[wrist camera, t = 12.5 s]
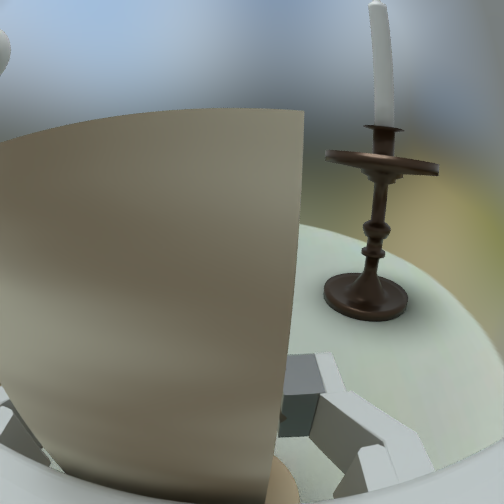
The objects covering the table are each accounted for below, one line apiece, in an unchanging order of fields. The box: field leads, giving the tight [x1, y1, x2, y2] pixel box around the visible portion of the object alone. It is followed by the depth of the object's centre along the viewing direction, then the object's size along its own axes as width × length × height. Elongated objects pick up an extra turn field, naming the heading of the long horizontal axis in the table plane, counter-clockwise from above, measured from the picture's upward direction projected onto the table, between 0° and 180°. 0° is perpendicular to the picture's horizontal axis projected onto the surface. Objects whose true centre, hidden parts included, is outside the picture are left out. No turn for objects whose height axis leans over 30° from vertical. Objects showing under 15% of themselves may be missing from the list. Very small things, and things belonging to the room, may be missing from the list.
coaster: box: [265, 455, 300, 504], centre depth 10 cm, size 8×8×1 cm
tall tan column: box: [0, 108, 304, 504], centre depth 7 cm, size 4×7×14 cm, turn 1°
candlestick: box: [323, 0, 439, 321], centre depth 23 cm, size 11×11×35 cm
